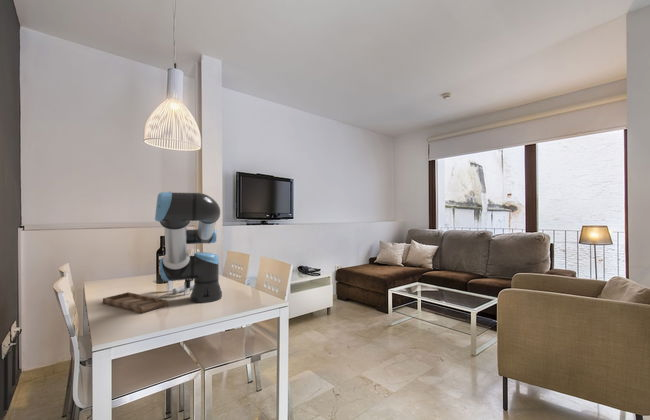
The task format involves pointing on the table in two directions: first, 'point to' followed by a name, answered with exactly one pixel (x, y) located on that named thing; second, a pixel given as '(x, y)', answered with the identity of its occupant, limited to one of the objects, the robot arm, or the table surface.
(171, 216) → the robot arm
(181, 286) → the screwdriver
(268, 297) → the table surface
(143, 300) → the tool tray
